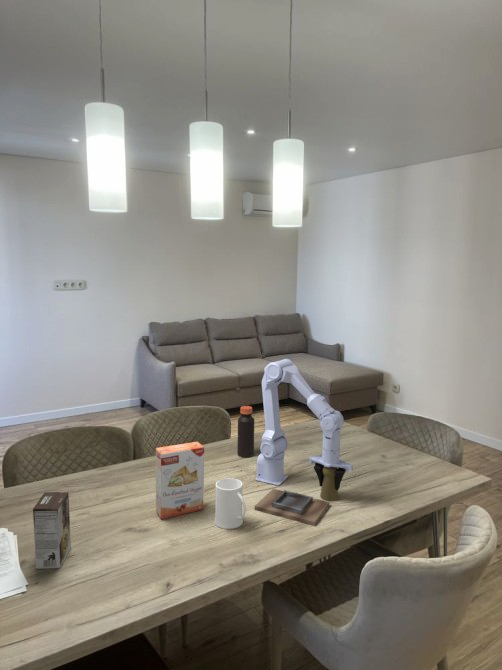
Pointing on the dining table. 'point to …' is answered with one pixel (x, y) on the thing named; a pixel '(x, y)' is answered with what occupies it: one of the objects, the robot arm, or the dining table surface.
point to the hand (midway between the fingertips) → (329, 487)
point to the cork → (329, 484)
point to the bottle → (245, 432)
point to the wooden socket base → (292, 506)
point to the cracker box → (179, 479)
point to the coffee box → (51, 529)
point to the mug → (229, 503)
